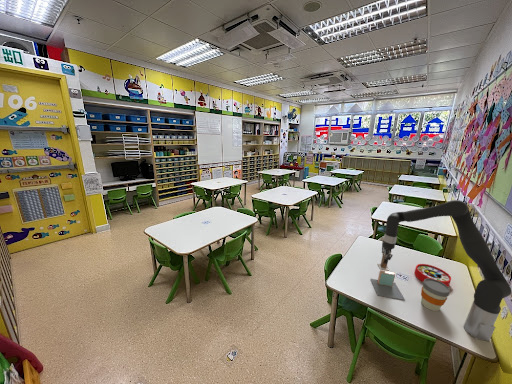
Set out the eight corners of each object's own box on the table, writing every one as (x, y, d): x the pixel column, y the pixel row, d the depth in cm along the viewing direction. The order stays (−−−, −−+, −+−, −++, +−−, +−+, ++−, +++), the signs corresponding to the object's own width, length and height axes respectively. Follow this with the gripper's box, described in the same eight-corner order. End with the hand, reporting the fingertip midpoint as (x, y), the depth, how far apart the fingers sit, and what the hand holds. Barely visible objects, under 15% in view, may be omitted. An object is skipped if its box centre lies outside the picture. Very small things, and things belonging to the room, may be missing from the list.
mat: (404, 300, 131) (405, 299, 131) (377, 295, 135) (377, 294, 135) (394, 283, 146) (395, 282, 146) (370, 279, 150) (370, 278, 150)
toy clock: (410, 262, 162) (439, 265, 158) (408, 268, 163) (437, 272, 160) (425, 279, 143) (458, 283, 139) (423, 286, 144) (456, 290, 141)
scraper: (389, 271, 146) (392, 257, 143) (379, 269, 147) (382, 256, 144) (386, 266, 151) (389, 253, 148) (377, 264, 153) (380, 251, 150)
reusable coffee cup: (444, 317, 120) (452, 296, 116) (418, 306, 127) (424, 286, 122) (441, 303, 130) (448, 283, 126) (417, 294, 137) (422, 275, 132)
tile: (392, 286, 142) (395, 274, 139) (378, 284, 144) (380, 272, 141) (391, 284, 144) (394, 272, 141) (377, 282, 146) (379, 270, 143)
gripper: (399, 246, 136) (394, 268, 141) (391, 236, 149) (386, 257, 154) (387, 244, 137) (382, 266, 142) (380, 235, 150) (375, 255, 155)
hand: (384, 261), depth 148 cm, fingers closed on scraper, 3 cm apart
